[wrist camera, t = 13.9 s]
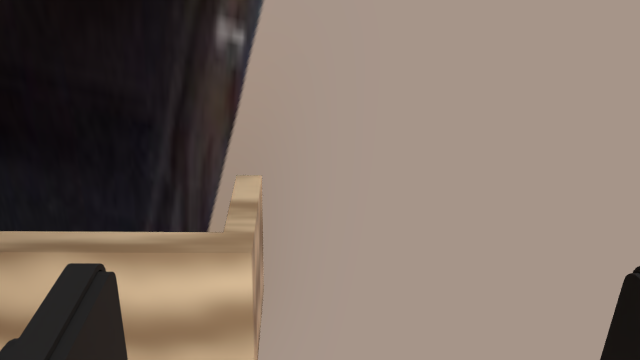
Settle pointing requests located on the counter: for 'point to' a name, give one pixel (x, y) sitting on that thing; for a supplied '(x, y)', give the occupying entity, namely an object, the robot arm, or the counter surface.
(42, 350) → the robot arm
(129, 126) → the counter surface
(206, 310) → the oak shelf
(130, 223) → the counter surface
